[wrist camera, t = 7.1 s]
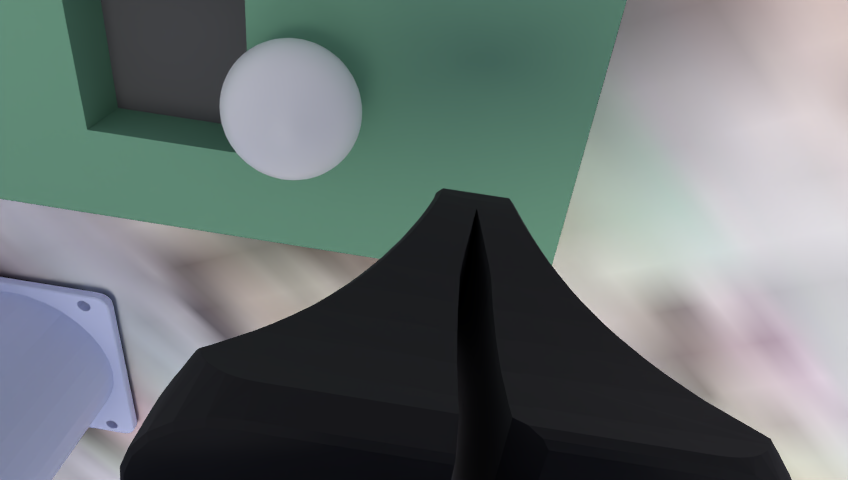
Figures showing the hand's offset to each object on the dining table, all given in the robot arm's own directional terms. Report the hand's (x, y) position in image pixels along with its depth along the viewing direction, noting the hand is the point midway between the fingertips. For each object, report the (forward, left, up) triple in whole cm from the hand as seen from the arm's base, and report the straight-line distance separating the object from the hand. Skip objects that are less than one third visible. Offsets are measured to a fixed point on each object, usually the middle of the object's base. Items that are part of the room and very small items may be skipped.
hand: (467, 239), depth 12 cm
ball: (-5, 0, -5) cm, 7 cm away
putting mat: (-7, 0, -9) cm, 11 cm away
